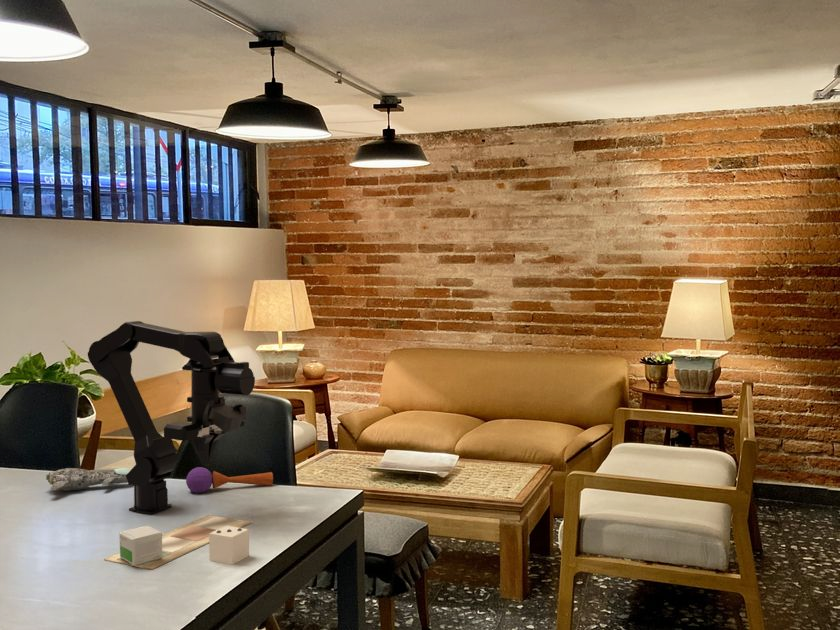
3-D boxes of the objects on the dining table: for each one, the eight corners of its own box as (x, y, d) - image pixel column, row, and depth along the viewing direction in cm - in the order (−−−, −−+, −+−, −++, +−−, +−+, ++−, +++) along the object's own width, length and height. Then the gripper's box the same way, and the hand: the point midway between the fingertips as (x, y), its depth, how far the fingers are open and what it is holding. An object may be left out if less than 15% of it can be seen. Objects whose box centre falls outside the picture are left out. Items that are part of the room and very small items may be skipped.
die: (209, 560, 148) (209, 531, 147) (226, 552, 152) (226, 523, 152) (231, 565, 145) (231, 535, 145) (249, 556, 150) (248, 527, 150)
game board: (104, 560, 147) (104, 558, 147) (208, 515, 174) (208, 514, 174) (151, 569, 143) (151, 568, 143) (251, 522, 169) (251, 521, 169)
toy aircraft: (137, 494, 190) (137, 472, 190) (43, 502, 183) (42, 478, 183) (137, 477, 205) (137, 456, 205) (50, 483, 199) (49, 462, 199)
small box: (118, 558, 147) (118, 531, 147) (148, 550, 151) (148, 524, 151) (133, 566, 143) (132, 539, 143) (163, 558, 147) (163, 531, 147)
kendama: (275, 472, 195) (188, 473, 188) (272, 495, 197) (186, 497, 189) (270, 462, 201) (186, 463, 193) (267, 485, 202) (184, 486, 194)
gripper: (204, 401, 160) (204, 480, 161) (264, 389, 176) (264, 461, 177) (161, 397, 165) (162, 473, 166) (224, 385, 181) (224, 455, 182)
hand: (205, 465), depth 173 cm, fingers closed
